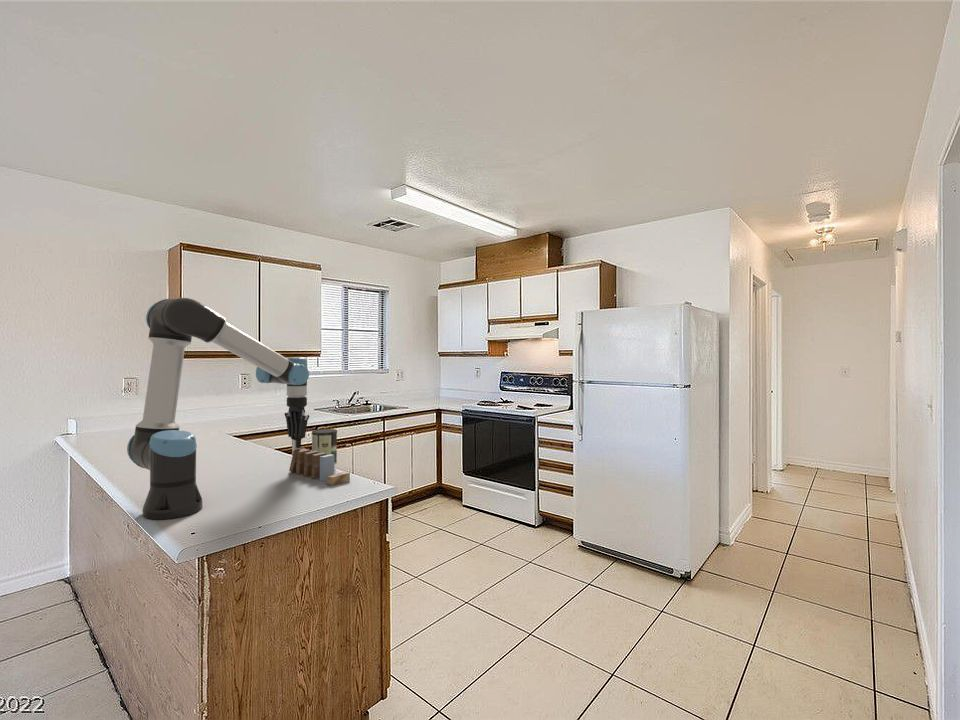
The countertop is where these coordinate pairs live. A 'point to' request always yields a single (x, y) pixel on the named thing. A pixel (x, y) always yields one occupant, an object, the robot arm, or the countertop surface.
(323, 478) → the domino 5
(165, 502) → the robot arm
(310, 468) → the domino
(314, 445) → the coffee can
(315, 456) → the domino
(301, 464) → the domino
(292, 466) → the domino
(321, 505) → the countertop surface
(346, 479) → the stop block
